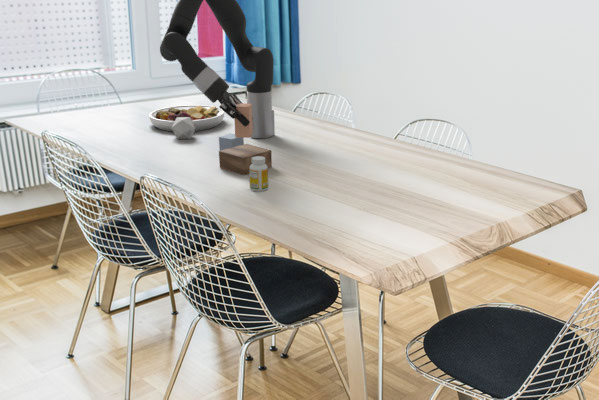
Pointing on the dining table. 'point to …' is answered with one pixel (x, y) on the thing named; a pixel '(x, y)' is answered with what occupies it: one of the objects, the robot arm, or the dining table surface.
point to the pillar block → (239, 127)
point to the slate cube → (230, 141)
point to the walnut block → (242, 158)
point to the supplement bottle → (258, 174)
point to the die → (183, 128)
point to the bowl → (199, 115)
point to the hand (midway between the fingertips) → (249, 122)
